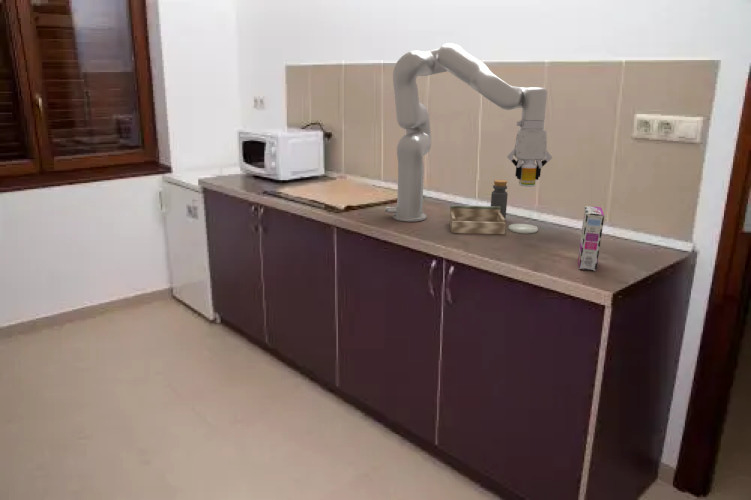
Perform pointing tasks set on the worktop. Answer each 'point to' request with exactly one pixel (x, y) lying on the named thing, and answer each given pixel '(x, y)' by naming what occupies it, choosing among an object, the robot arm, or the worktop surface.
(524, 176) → the supplement bottle
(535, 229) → the saucer
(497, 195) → the bottle
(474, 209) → the beige rectangular tray
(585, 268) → the candy bar box
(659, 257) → the worktop surface
